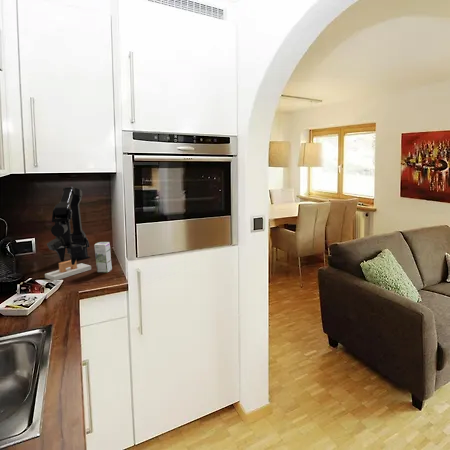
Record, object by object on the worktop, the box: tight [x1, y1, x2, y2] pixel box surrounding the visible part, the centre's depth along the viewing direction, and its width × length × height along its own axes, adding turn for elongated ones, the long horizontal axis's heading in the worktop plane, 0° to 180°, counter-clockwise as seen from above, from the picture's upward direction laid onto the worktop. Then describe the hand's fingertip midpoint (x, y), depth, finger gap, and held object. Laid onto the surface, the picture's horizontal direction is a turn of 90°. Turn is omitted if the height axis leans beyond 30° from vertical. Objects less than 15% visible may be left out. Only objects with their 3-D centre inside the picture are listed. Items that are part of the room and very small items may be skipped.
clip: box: [58, 259, 78, 273], centre depth 183 cm, size 8×2×6 cm, turn 145°
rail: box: [44, 262, 92, 281], centre depth 183 cm, size 20×8×2 cm, turn 145°
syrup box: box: [94, 241, 113, 273], centre depth 185 cm, size 6×6×14 cm
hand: (67, 263), depth 182 cm, fingers open, 9 cm apart
